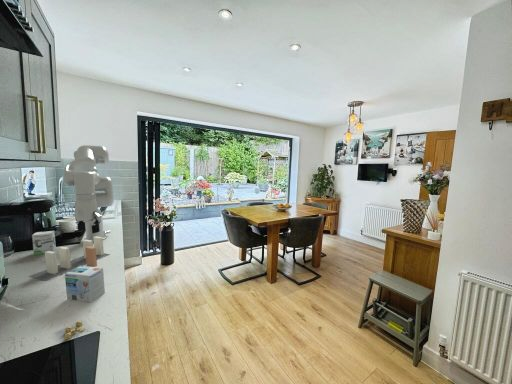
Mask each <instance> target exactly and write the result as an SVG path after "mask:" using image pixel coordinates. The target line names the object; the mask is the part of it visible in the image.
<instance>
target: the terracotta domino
mask: <svg viewBox="0 0 512 384" xmlns="http://www.w3.org/2000/svg"><path fill="white" fill-rule="evenodd" d="M85 252H86V263H87V264H86V266H88V267H98V260H97V259H96V248H95V247H94V246H93V247H90V246H88V247H85Z"/></svg>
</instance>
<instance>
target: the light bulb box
mask: <svg viewBox="0 0 512 384" xmlns="http://www.w3.org/2000/svg"><path fill="white" fill-rule="evenodd" d="M64 278H65V279H64V280H65V281H64V282H65V290H66V291H65V292H66V299H67V300H70V301H76V302H84V303H90V304H91V303H92V302H94V301H95V300H97V299H98V298H99V297H101V296H102V295H104V294H105V293H106V292H105V277H104V268H103V267H99V266H96V267H91V266H87V265H84V266H79V267H77V268H75V269H73V270H71V271H69V272H67V273H64Z"/></svg>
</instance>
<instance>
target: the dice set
mask: <svg viewBox="0 0 512 384" xmlns="http://www.w3.org/2000/svg"><path fill="white" fill-rule="evenodd" d="M82 324H83V323H82V321H81V320H78V321H76V322H75V327H74V328H72V326H71V325H70V326H67V327H65V328H64V333H65V334H64V341H69V340H72V336H73V335H75V334H76V333H77V332H78V331H79V332H80V333H82V332H85V330H86V327H84V328H82Z"/></svg>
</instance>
